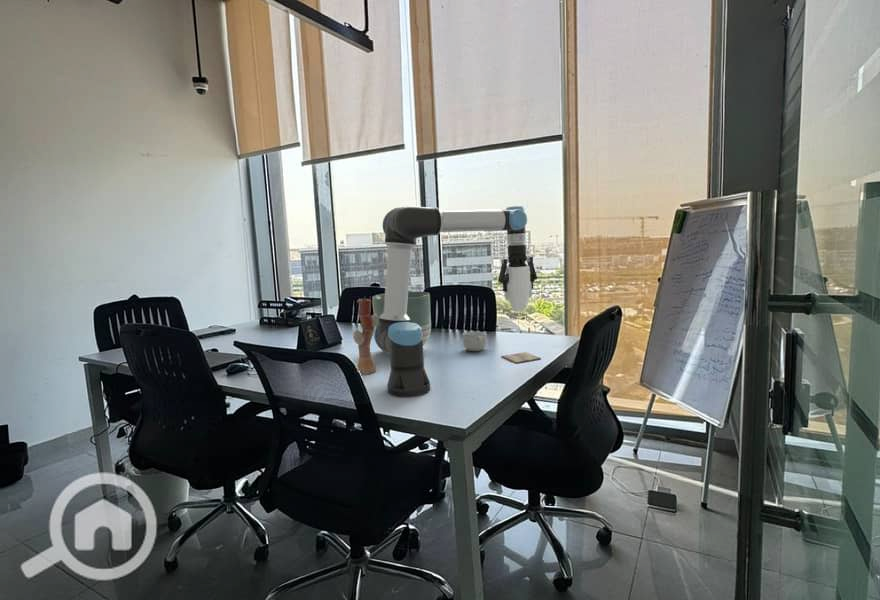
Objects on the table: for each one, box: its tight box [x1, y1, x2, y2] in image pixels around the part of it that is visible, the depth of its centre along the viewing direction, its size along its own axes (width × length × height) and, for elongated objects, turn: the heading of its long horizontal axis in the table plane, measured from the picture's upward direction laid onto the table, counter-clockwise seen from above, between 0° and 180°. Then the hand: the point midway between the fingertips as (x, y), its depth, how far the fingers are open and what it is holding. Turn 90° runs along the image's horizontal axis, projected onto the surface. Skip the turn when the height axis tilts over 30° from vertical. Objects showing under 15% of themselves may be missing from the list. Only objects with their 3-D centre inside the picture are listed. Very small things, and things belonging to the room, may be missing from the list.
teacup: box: [462, 331, 487, 352], centre depth 221 cm, size 14×11×8 cm
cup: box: [505, 265, 530, 313], centre depth 200 cm, size 10×10×22 cm
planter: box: [371, 291, 432, 347], centre depth 225 cm, size 27×27×27 cm
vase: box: [352, 298, 378, 376], centre depth 194 cm, size 10×7×30 cm
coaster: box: [501, 351, 542, 364], centre depth 204 cm, size 12×12×1 cm
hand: (518, 298), depth 201 cm, fingers closed on cup, 10 cm apart
